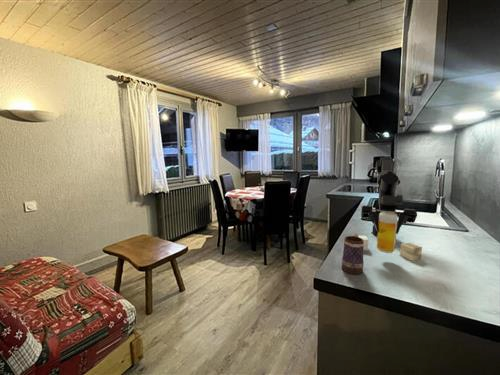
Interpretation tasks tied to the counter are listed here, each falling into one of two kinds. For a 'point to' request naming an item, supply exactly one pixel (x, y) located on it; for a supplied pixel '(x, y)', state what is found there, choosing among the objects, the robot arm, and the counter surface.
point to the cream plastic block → (364, 242)
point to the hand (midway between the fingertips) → (387, 232)
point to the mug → (353, 255)
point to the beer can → (387, 231)
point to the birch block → (410, 251)
